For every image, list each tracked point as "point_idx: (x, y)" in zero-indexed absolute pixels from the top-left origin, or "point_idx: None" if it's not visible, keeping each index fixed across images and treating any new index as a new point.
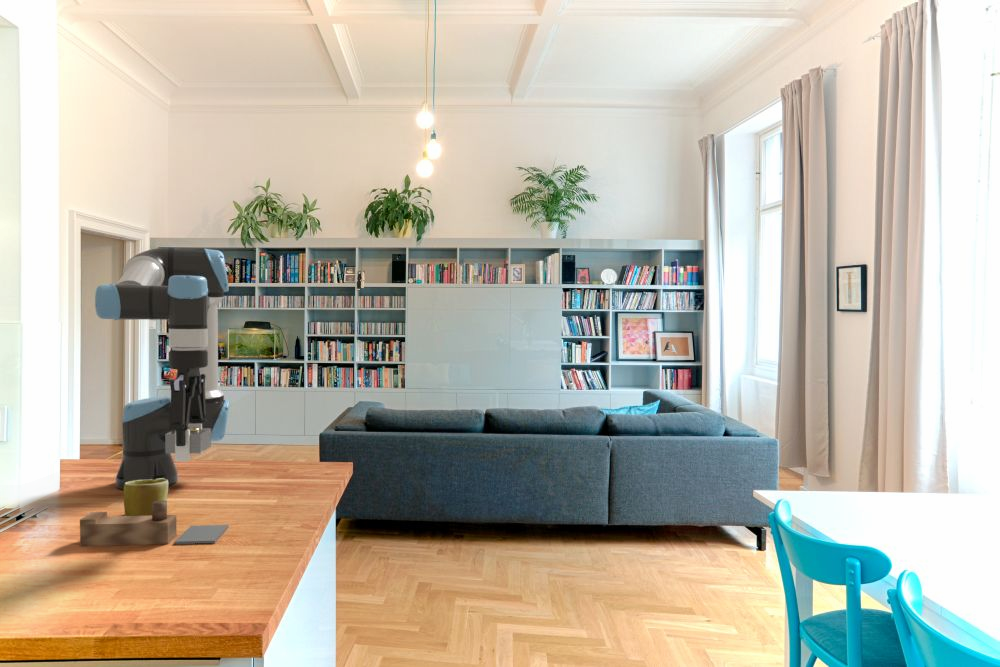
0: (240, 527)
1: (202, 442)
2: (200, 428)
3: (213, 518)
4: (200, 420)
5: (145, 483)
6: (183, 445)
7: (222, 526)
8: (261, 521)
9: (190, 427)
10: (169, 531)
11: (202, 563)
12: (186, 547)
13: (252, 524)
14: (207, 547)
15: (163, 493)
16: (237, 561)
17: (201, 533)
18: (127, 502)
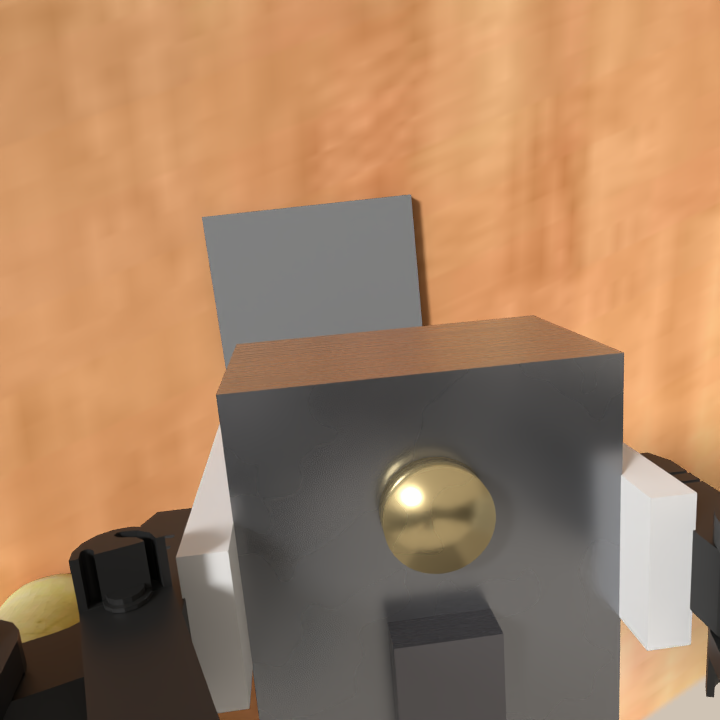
0: (197, 160)
1: (508, 337)
2: (244, 522)
3: (80, 340)
4: (173, 603)
5: None
6: (653, 456)
7: (227, 236)
8: (98, 85)
9: (246, 649)
10: None
11: (616, 155)
12: (451, 292)
13: (148, 116)
14: (452, 207)
15: (42, 629)
16: (605, 19)
17: (324, 290)
18: None
